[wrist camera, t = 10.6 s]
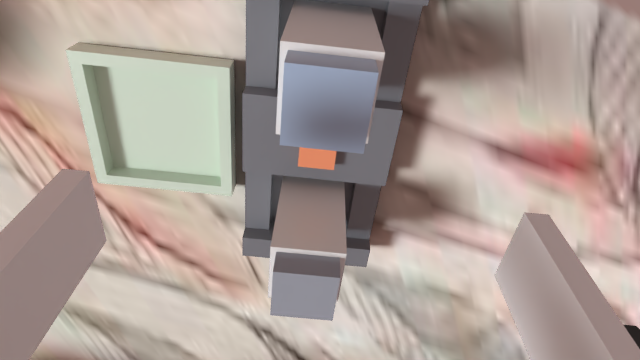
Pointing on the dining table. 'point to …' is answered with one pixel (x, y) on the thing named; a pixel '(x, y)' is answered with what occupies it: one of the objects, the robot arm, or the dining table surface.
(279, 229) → the twin plug
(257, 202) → the strip
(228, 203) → the dining table surface
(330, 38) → the plug
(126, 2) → the dining table surface
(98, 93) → the tray
